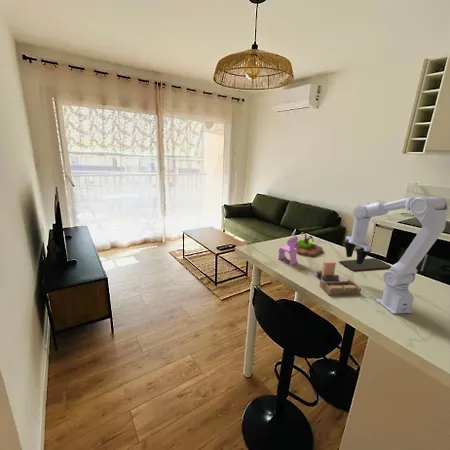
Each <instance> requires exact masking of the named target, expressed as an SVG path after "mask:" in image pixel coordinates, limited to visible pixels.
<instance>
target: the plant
mask: <svg viewBox="0 0 450 450" xmlns="http://www.w3.org/2000/svg"><path fill="white" fill-rule="evenodd" d="M300 234H301V235H303V236H304V238H303V239H302V238H298V240H297V242H296V244H295V248H296V249H297V254H296V255H298V254H299V255H300V256H302V257H305V256H306V257H309V258H315V257H317V256H318V255H320V254H323V251H324V248H323V247H322V246H319V245H317V244H315V239H314V237H313V236H312V235H307V234H306V232H303V231H302V232H301V233H300ZM307 236H308V237H307ZM288 246H289V245H288Z"/></svg>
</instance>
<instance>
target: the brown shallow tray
mask: <svg viewBox="0 0 450 450" xmlns="http://www.w3.org/2000/svg"><path fill="white" fill-rule="evenodd" d="M330 285H340V286H342V285H354V286H355V287H356V289H354V290H332V289H331V288H330V287H329V286H330ZM319 287H320V288H321V289H322V290H323V291H324V293H326V295H327V296H356V295H357V296H358V295H361V291H362V288H361V286H359V285H358V284H357V283H355V281H353V280H352V279H350V278H348V279H347V280H343V281H336V282H324V281H323V280H319Z"/></svg>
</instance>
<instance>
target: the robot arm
mask: <svg viewBox="0 0 450 450" xmlns="http://www.w3.org/2000/svg"><path fill="white" fill-rule="evenodd" d="M403 209H405V210H407V211H410V212H411V213H412V214H413V216H414V217H415V218H416V219H417V221H419V223H420V224H421V226H422V227H421V228H420V229H419V231H418V232H417V233H416V236H415V237H414V238H413V239H412V242H411V243H410V244H409V246H408V247H407V248H406V250H405V251H404V253H403V255H402V256H401V257H400V259H399V260H398V262H396V263H394V264H393V265H390V266H391V268H390V269H385V271H383V274H382V278H383V282H384V284H385V285H384V287H383V292H382V296H381V298H376V299H375V300H376V301H377V302H378V303H379V304H380V305H382V306H383V307H384V308H385V309H387V311H389V312H390V313H391V314H392V315H394V314H397V315H398V314H412V313H413V312H412V310H411V309H412V306H413V304H414V303H413V302H414V299H415V298H414V295H413V294H412V292H410V290H409V287H410V284H412V283H414V282H415V280H416V274H417V273H418V269H417V267H418V266H419V264H420V263H421V261H423V259H424V257H425V256H426V255H427V253H428V252H429V250H430V249H431V248H432V246H433V245H434V244H435V242H437V240H438V238H439V237H440V236H441V234H442V233H443V232H444V230H445V229H446V223H447V213H448V212H449V210H450V206H449V205H448V203H447V200H446V199H445V198H444V197H442V196H440V195H434V196H416V197H406V198H402V199H398V200H394V201H391V202H386V201H384V200H381V199H378V200H375V202H371V203H370V202H366V203H365V204H363V205H362V204H359V205H355V207H354V208H353V210H352V215H353V217H354V221H353V226H352V232H351V235H346V237H345V241H343V244H344V247H345V255H346V257H347V258H352V256H353V254H354V251H355V252H356V260H357V261H356V263H357V264H362V262H363V261H364V259H366V258H367V256H368V255H369V254H370V253H371V246H370V245H368V244H367V243H366V239H367V233H368V229H369V224H370V222H371V219H372V218H374V217H380V216H381V217H382V216H386V215H387V214H388V213H389V212H390V211H397V210H403ZM356 246H357V247H359V248H356Z"/></svg>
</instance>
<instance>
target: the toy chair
mask: <svg viewBox="0 0 450 450" xmlns="http://www.w3.org/2000/svg"><path fill="white" fill-rule="evenodd" d="M297 241H299V236H297V235H293V236H292V237H289V238H288V239H287V242H286V243H287V244H286V245H283V246H279V248H278V257H277V259H278V261H279V259H280V260H282V259H285V258H287V257H286V253H287V254H289V258H290V259H289V260H290V261H289V265H290V266H292V265H295V264H297V263H298V260H297V255H298V254H297V249H296V248H295V244H296V242H297ZM288 245H289V246H288Z"/></svg>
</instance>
